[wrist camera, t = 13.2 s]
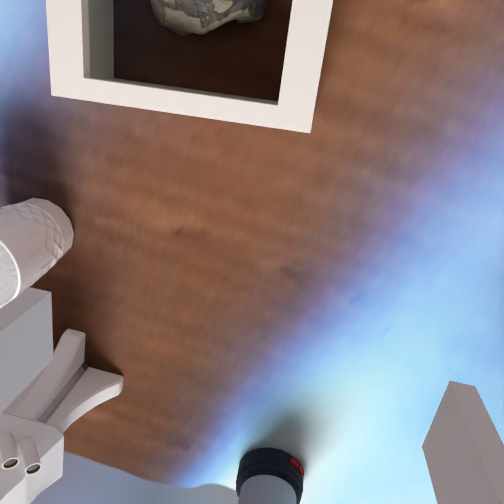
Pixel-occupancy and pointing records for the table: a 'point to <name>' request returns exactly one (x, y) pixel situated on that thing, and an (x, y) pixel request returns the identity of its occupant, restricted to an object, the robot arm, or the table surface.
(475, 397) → the robot arm
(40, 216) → the white cup
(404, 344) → the table surface
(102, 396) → the toy gun turret
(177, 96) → the box
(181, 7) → the fossil
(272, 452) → the humidifier
